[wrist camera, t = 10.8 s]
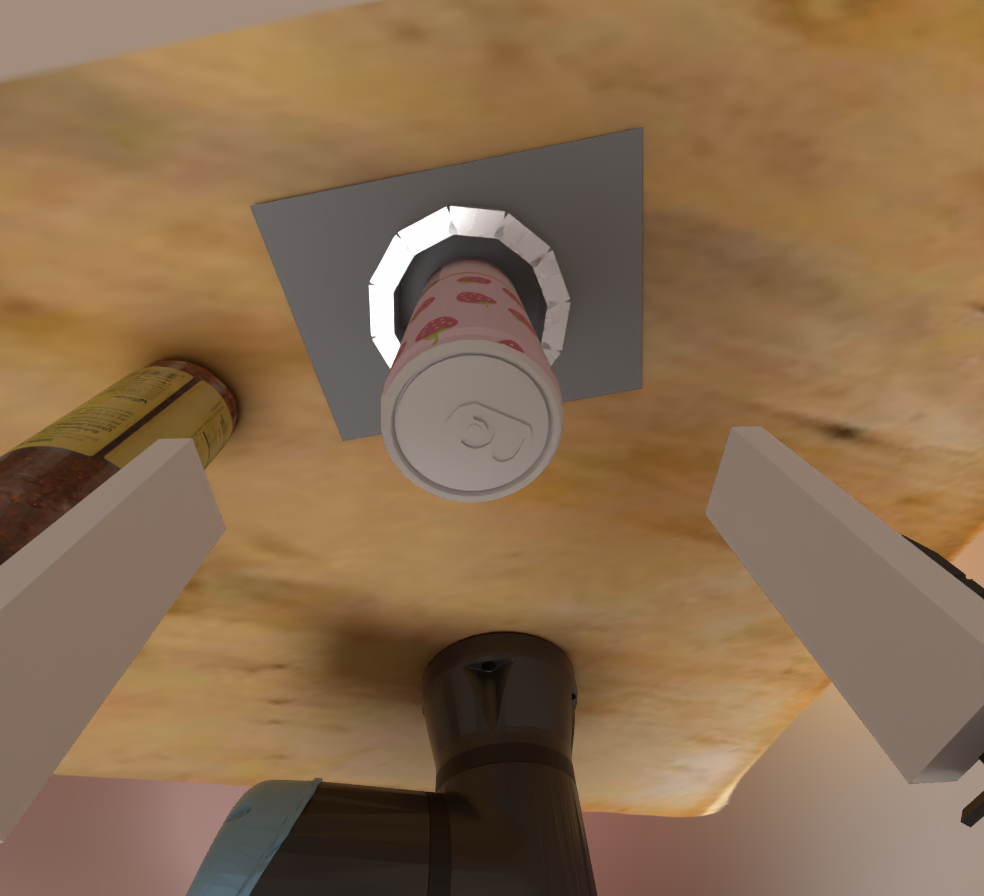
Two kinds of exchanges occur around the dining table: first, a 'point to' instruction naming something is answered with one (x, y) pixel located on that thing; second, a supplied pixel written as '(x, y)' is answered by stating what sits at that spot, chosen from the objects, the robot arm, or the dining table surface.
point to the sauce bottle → (108, 443)
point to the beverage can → (471, 389)
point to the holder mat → (483, 183)
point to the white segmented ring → (479, 225)
